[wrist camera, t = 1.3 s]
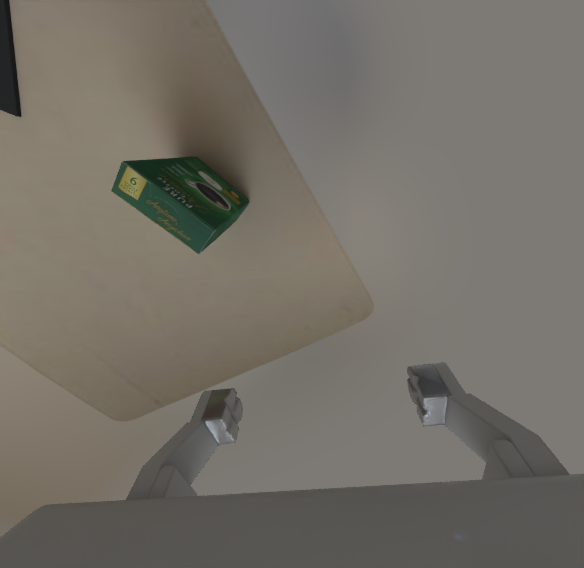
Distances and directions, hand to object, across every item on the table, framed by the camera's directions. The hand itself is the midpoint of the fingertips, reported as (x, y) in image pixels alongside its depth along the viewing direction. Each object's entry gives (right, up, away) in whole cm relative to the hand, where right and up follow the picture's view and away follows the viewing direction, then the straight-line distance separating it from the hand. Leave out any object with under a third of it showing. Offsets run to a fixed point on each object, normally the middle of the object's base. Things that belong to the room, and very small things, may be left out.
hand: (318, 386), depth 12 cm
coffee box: (-10, +16, +19) cm, 27 cm away
